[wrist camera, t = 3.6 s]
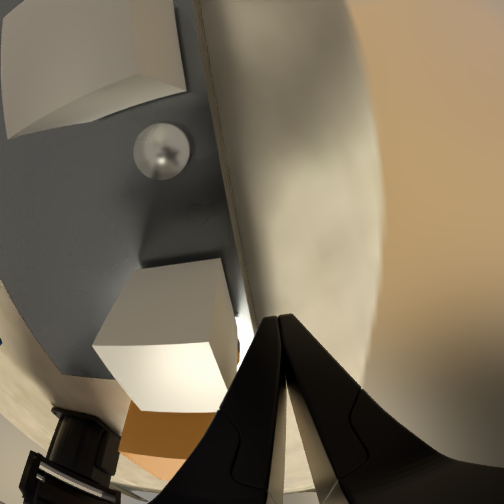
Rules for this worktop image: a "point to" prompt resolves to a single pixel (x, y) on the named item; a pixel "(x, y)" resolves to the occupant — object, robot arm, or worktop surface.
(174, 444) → the orange squarish block
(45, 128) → the block
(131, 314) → the light grey block
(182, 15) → the panel
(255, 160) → the worktop surface
